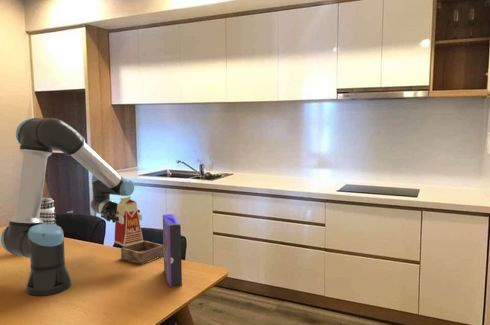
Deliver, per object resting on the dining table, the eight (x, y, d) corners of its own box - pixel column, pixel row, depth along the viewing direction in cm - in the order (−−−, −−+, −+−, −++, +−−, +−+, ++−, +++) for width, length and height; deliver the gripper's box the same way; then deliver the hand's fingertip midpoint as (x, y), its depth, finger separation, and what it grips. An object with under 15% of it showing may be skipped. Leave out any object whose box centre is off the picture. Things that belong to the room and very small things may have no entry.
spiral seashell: (37, 246, 200) (34, 197, 198) (58, 244, 204) (55, 196, 202) (37, 252, 192) (33, 201, 190) (58, 249, 196) (55, 199, 193)
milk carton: (143, 241, 171) (142, 195, 169) (123, 246, 164) (122, 198, 162) (132, 237, 177) (130, 192, 175) (112, 242, 170) (111, 195, 168)
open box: (164, 255, 187) (164, 245, 186) (141, 264, 175) (141, 253, 175) (144, 250, 194) (143, 240, 194) (121, 258, 183) (121, 248, 182)
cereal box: (164, 270, 168) (162, 214, 166) (175, 269, 170) (174, 213, 167) (169, 287, 152) (167, 225, 149) (181, 285, 153) (180, 224, 151)
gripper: (131, 214, 190) (154, 223, 172) (88, 221, 177) (108, 232, 159) (130, 198, 189) (154, 206, 172) (87, 204, 176) (107, 213, 158)
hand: (132, 218), depth 165 cm, fingers closed on milk carton, 7 cm apart
